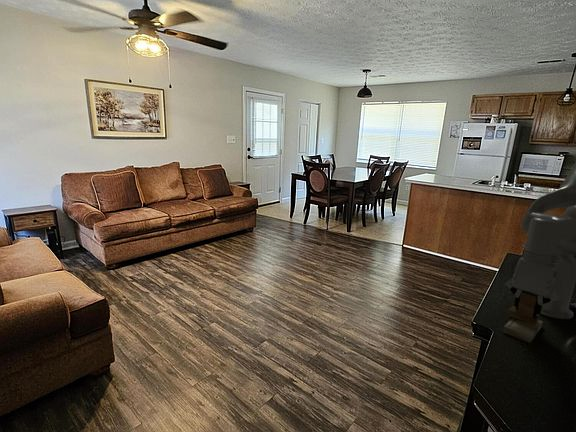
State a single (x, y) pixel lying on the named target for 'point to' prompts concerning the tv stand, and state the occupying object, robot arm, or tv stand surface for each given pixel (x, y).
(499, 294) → the tv stand surface
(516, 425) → the tv stand surface
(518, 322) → the board
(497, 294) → the tv stand surface
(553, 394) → the tv stand surface
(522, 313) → the brown slider knob
